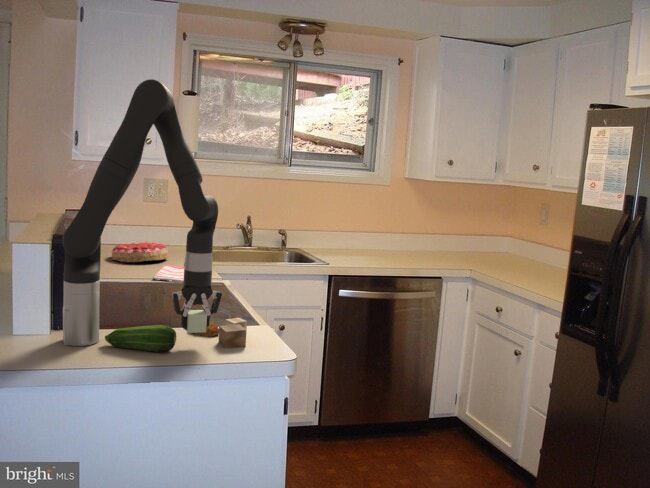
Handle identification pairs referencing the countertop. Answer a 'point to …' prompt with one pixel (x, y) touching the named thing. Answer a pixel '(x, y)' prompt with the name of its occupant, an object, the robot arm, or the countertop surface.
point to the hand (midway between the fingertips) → (195, 328)
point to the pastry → (210, 330)
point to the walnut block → (232, 336)
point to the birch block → (237, 322)
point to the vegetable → (143, 338)
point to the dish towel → (170, 273)
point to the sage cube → (196, 321)
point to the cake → (139, 252)
